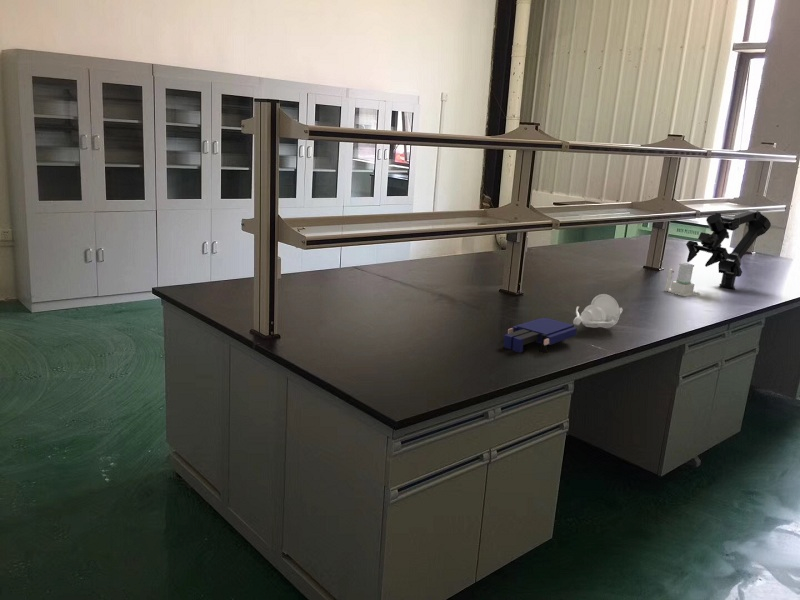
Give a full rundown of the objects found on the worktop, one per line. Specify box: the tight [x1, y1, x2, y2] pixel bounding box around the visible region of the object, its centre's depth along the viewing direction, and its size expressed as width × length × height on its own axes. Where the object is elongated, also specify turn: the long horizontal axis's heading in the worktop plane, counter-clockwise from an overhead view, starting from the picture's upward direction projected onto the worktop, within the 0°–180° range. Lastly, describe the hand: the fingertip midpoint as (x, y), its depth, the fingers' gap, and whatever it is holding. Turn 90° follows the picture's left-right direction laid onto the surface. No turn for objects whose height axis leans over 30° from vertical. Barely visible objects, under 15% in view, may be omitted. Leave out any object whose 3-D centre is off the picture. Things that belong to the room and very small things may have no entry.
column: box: [675, 262, 695, 285], centre depth 293 cm, size 4×4×13 cm
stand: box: [663, 268, 700, 297], centre depth 293 cm, size 10×11×10 cm
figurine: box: [572, 293, 624, 329], centre depth 229 cm, size 17×12×25 cm
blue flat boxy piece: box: [503, 317, 578, 354], centre depth 211 cm, size 15×6×25 cm
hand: (696, 263), depth 295 cm, fingers open, 9 cm apart
